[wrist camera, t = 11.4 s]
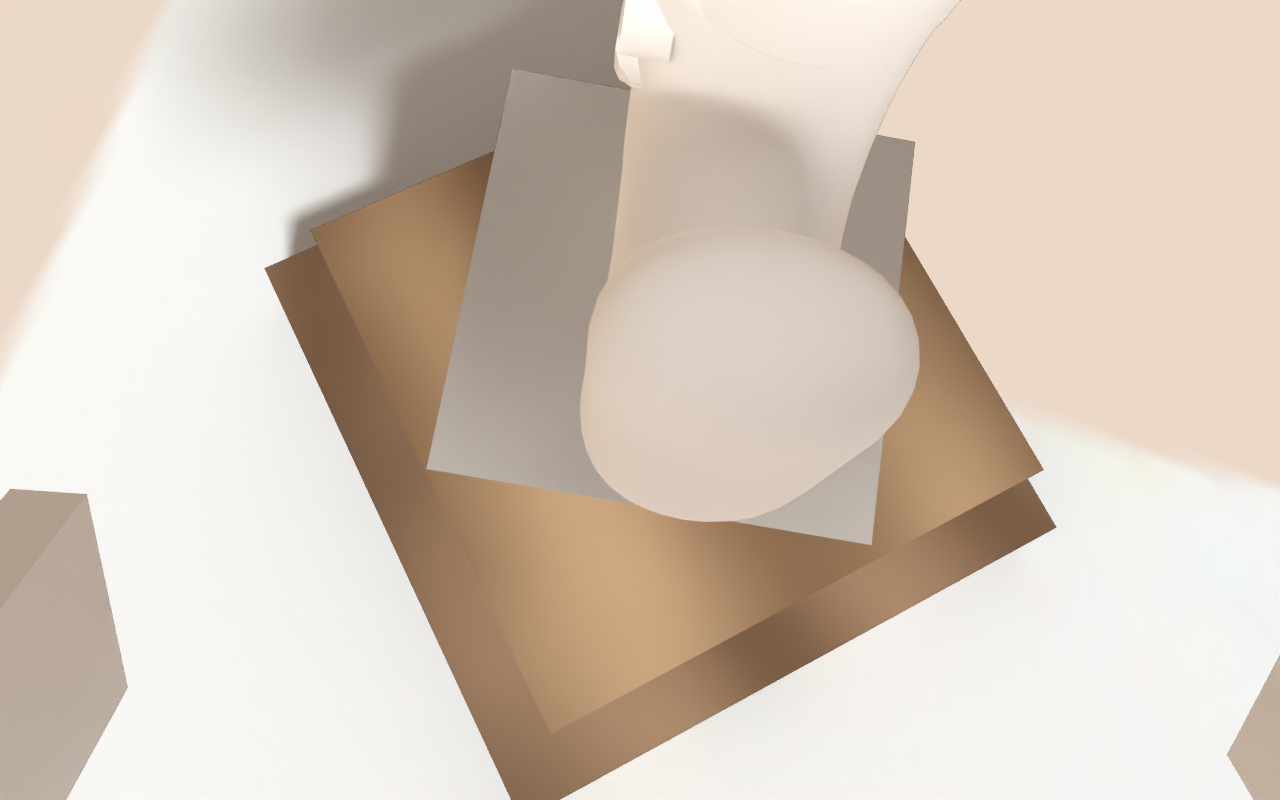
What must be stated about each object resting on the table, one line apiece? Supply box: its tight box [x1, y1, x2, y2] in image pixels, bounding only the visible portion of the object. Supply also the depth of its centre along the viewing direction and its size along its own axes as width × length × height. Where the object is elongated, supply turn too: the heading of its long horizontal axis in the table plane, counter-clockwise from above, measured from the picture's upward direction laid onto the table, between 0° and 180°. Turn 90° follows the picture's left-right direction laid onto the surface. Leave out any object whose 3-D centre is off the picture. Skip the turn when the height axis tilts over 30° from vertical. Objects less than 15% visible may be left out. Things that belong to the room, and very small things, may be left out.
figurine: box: [427, 0, 960, 545], centre depth 14 cm, size 7×9×15 cm
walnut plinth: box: [265, 151, 1056, 800], centre depth 25 cm, size 14×14×6 cm
